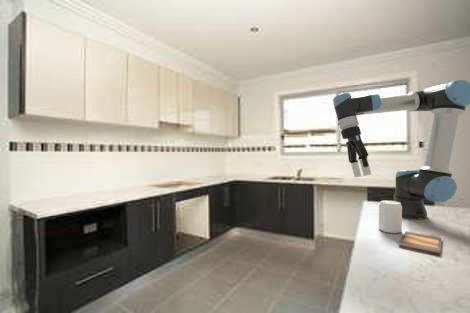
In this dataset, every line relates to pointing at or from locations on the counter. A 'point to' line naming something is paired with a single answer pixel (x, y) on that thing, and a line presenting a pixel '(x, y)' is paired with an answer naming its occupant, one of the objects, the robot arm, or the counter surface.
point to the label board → (421, 243)
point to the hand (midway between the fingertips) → (362, 176)
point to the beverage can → (390, 216)
